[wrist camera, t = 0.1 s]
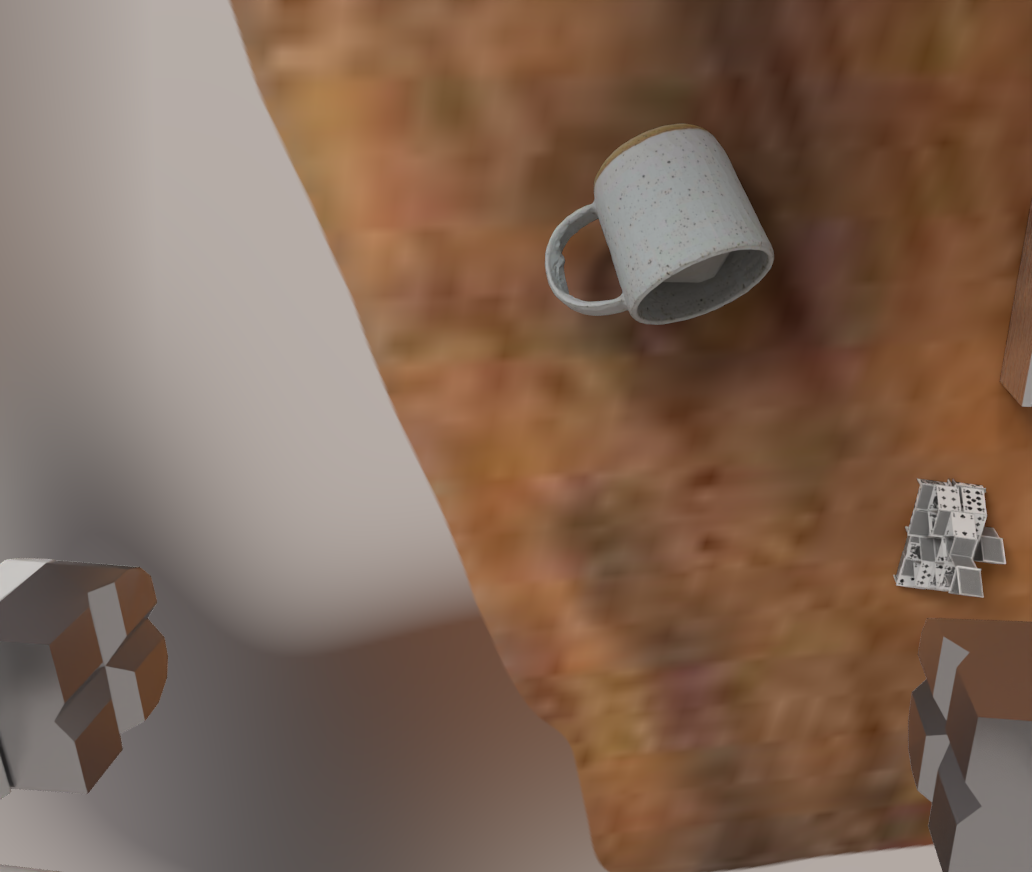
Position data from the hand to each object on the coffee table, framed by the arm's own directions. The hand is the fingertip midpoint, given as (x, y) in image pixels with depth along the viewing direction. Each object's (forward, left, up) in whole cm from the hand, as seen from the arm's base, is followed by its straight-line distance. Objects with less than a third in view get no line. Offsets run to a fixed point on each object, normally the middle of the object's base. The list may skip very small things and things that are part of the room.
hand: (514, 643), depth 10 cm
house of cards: (+24, +20, -48) cm, 57 cm away
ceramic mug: (+4, 0, -48) cm, 48 cm away
